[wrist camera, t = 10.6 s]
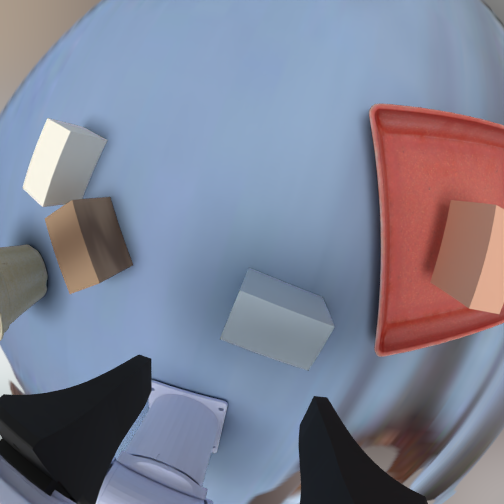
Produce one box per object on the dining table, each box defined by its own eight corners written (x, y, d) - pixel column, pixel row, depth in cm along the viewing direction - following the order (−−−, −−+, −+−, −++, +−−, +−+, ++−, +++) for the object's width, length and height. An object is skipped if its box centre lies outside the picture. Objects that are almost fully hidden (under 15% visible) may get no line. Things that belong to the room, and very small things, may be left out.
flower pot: (69, 272, 22) (5, 302, 13) (47, 326, 24) (-1, 359, 15) (25, 212, 21) (-35, 223, 13) (7, 271, 23) (-41, 290, 15)
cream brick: (81, 202, 20) (42, 206, 15) (59, 186, 20) (22, 187, 15) (108, 140, 19) (70, 131, 14) (84, 127, 19) (47, 118, 14)
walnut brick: (133, 264, 21) (99, 283, 16) (104, 275, 21) (69, 294, 17) (110, 197, 20) (72, 199, 15) (83, 212, 20) (44, 218, 16)
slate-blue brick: (322, 296, 20) (334, 326, 15) (302, 334, 21) (308, 370, 16) (248, 267, 20) (239, 290, 15) (232, 307, 21) (219, 339, 16)
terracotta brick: (461, 289, 16) (499, 314, 11) (430, 282, 16) (469, 308, 11) (480, 214, 15) (524, 222, 10) (450, 200, 15) (496, 204, 10)
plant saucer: (502, 306, 19) (520, 318, 16) (363, 339, 21) (374, 360, 18) (505, 135, 15) (525, 132, 12) (353, 115, 17) (366, 101, 14)
